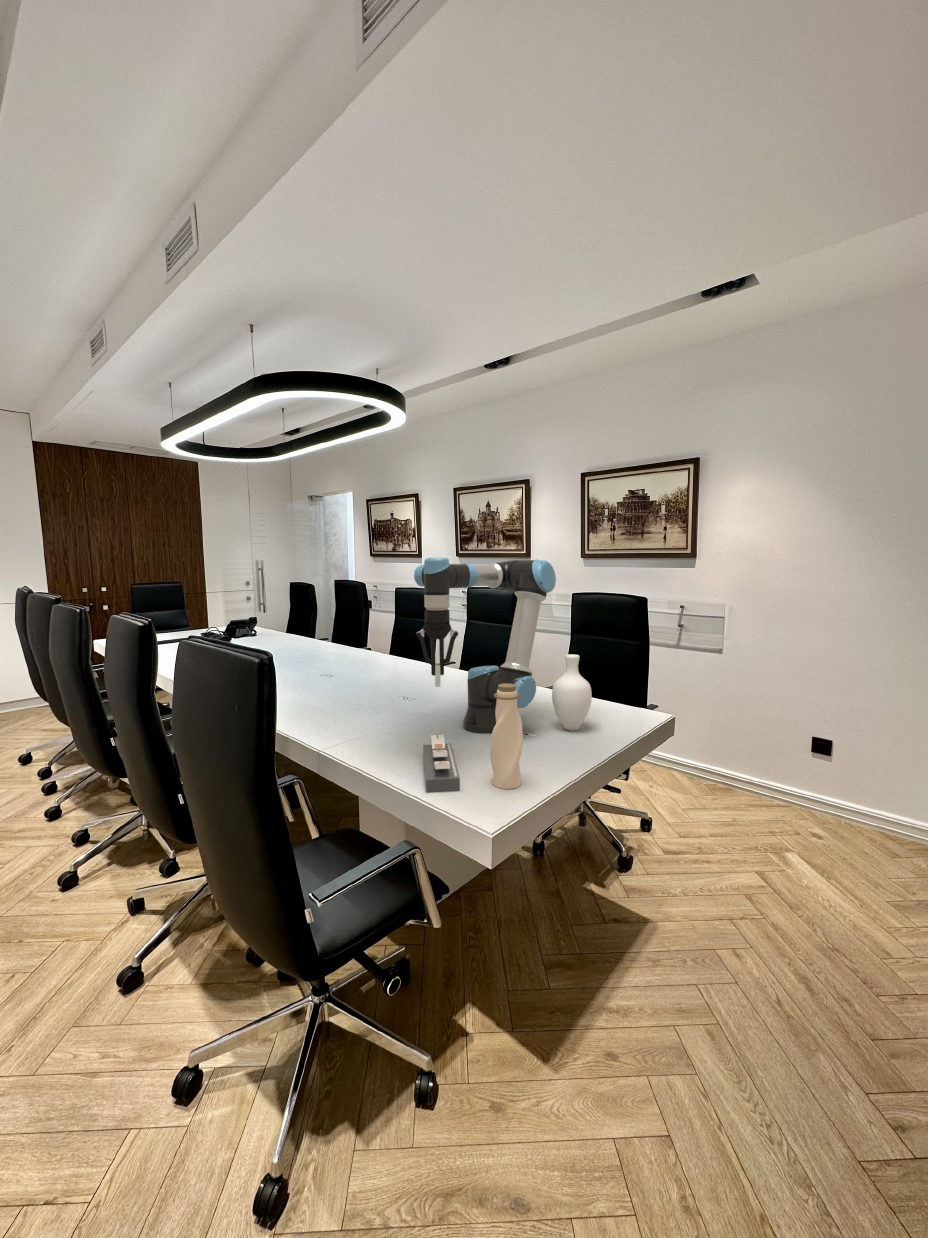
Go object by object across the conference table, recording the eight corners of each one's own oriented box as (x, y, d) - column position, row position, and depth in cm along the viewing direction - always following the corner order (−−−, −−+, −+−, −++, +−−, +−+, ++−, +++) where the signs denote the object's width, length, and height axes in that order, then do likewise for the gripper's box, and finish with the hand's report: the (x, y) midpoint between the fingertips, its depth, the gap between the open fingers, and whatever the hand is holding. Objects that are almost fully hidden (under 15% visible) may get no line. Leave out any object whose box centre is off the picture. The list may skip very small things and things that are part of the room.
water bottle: (487, 775, 152) (487, 681, 149) (518, 774, 153) (518, 680, 150) (492, 790, 142) (492, 689, 139) (525, 789, 143) (526, 688, 140)
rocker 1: (443, 738, 167) (443, 734, 167) (445, 751, 161) (445, 747, 160) (431, 739, 167) (431, 735, 166) (432, 752, 160) (432, 748, 160)
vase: (585, 723, 202) (586, 651, 199) (595, 735, 187) (597, 658, 184) (548, 724, 201) (549, 652, 198) (555, 736, 187) (556, 658, 184)
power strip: (449, 745, 178) (448, 734, 178) (459, 790, 142) (459, 777, 141) (422, 746, 177) (422, 735, 177) (426, 792, 141) (426, 779, 140)
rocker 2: (445, 754, 158) (445, 749, 158) (447, 756, 151) (447, 751, 152) (432, 755, 158) (432, 750, 158) (433, 757, 151) (433, 751, 151)
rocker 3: (448, 766, 149) (447, 760, 150) (450, 768, 142) (449, 762, 143) (434, 766, 149) (434, 761, 149) (435, 769, 142) (435, 763, 142)
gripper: (457, 607, 162) (457, 682, 164) (415, 608, 160) (416, 683, 163) (459, 609, 154) (460, 687, 157) (415, 610, 153) (416, 689, 155)
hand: (437, 685), depth 160 cm, fingers closed
